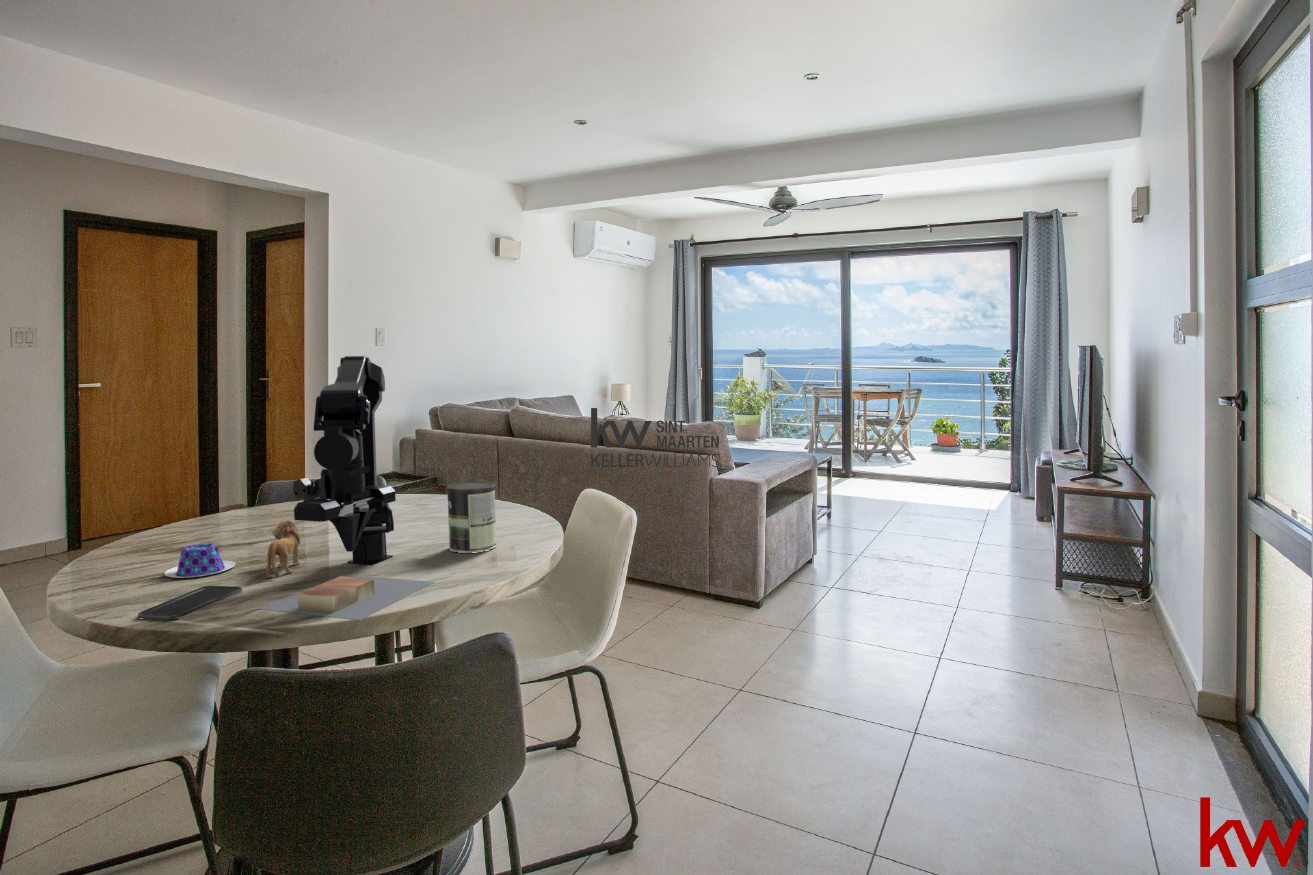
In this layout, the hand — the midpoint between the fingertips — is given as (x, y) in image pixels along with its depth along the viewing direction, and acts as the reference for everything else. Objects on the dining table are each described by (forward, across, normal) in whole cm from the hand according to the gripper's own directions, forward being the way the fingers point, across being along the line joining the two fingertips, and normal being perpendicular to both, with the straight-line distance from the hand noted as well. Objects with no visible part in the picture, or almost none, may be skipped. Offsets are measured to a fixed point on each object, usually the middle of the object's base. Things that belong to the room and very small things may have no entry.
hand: (350, 551), depth 122 cm
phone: (+9, +10, -24) cm, 28 cm away
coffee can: (+8, -35, +3) cm, 36 cm away
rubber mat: (+8, 0, 0) cm, 8 cm away
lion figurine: (+8, -11, -26) cm, 29 cm away
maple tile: (+6, -1, 0) cm, 7 cm away
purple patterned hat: (+8, -6, -41) cm, 42 cm away
